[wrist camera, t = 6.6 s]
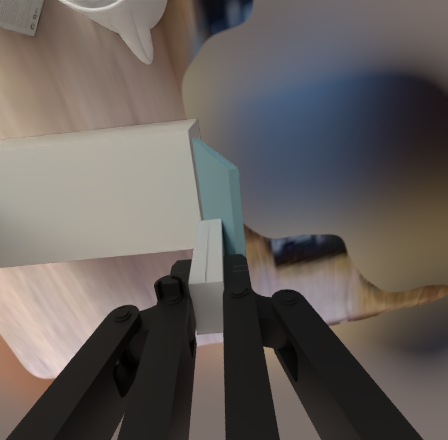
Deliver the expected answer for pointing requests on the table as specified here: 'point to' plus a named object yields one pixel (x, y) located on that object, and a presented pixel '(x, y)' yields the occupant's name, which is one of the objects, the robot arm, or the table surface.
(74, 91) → the table surface
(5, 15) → the skincare box
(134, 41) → the mug
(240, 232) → the flap
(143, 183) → the carton
